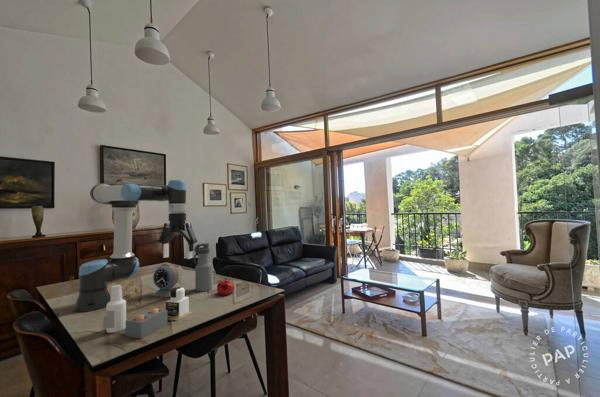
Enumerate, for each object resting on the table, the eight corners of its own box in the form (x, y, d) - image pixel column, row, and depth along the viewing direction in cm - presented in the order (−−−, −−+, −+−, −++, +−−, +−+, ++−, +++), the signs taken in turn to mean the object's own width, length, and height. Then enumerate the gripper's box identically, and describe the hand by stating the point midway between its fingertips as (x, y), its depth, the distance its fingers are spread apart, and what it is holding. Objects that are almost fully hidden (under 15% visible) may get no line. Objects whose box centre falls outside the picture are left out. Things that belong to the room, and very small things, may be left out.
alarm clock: (149, 295, 152) (149, 265, 153) (162, 290, 162) (161, 261, 162) (171, 297, 149) (170, 265, 149) (182, 291, 158) (182, 262, 159)
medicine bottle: (165, 316, 120) (165, 290, 120) (176, 310, 127) (176, 285, 127) (179, 318, 118) (178, 291, 118) (189, 311, 125) (189, 286, 125)
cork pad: (161, 318, 119) (161, 317, 119) (175, 311, 128) (175, 310, 128) (177, 321, 116) (177, 319, 116) (191, 313, 125) (191, 311, 125)
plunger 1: (133, 331, 104) (133, 317, 104) (140, 327, 107) (140, 314, 107) (139, 332, 103) (139, 317, 104) (146, 328, 106) (146, 314, 106)
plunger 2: (148, 323, 111) (148, 310, 111) (154, 320, 114) (154, 307, 114) (154, 324, 110) (154, 311, 110) (160, 321, 113) (160, 308, 113)
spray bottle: (112, 326, 113) (113, 283, 113) (129, 325, 113) (129, 283, 114) (102, 333, 106) (102, 288, 106) (120, 332, 106) (120, 287, 107)
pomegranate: (226, 290, 159) (226, 274, 160) (237, 292, 154) (237, 276, 154) (212, 294, 151) (212, 278, 152) (223, 297, 146) (223, 280, 146)
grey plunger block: (125, 336, 103) (125, 320, 104) (152, 322, 116) (152, 308, 116) (141, 338, 101) (141, 322, 101) (167, 323, 114) (167, 309, 114)
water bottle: (191, 291, 158) (191, 244, 159) (200, 286, 167) (199, 242, 168) (207, 292, 156) (206, 244, 157) (215, 287, 166) (214, 242, 167)
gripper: (149, 213, 124) (150, 258, 123) (194, 212, 117) (194, 260, 116) (162, 212, 131) (162, 255, 130) (204, 212, 124) (205, 257, 123)
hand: (177, 258), depth 123 cm, fingers open, 13 cm apart
